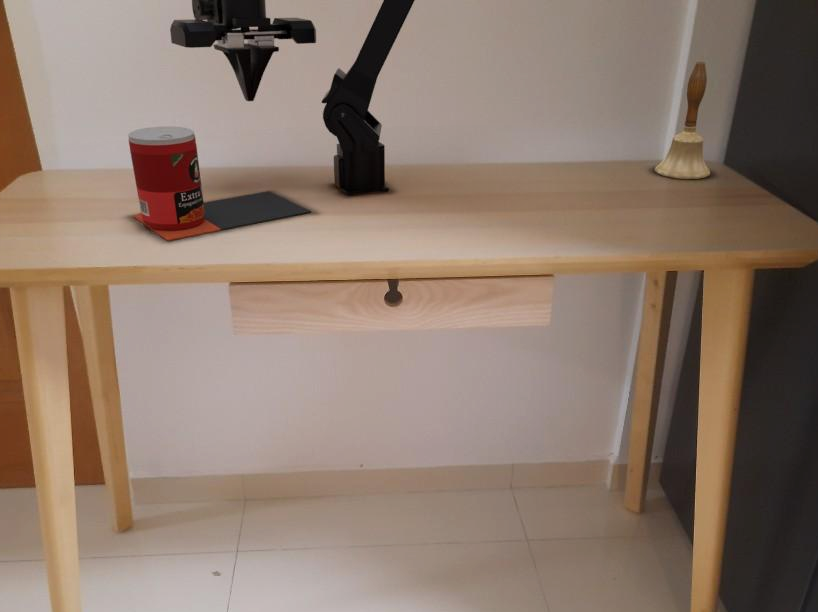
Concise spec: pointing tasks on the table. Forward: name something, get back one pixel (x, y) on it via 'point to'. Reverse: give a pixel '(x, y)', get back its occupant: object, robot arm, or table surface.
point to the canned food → (167, 177)
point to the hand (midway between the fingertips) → (249, 100)
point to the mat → (250, 210)
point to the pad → (178, 234)
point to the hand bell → (688, 136)
